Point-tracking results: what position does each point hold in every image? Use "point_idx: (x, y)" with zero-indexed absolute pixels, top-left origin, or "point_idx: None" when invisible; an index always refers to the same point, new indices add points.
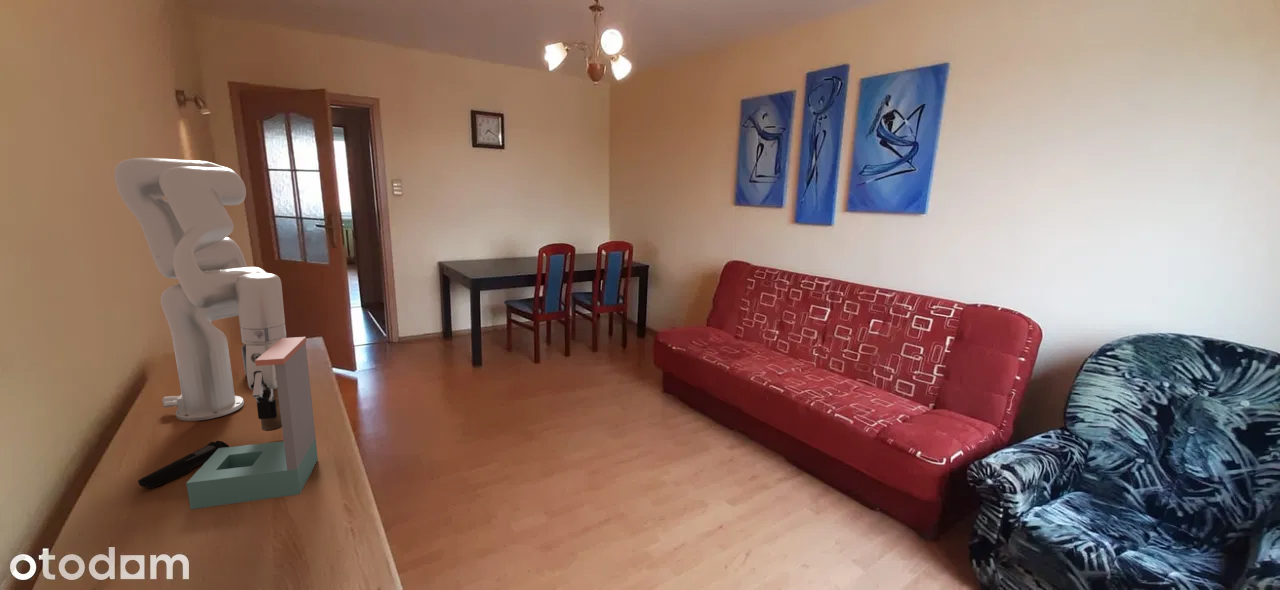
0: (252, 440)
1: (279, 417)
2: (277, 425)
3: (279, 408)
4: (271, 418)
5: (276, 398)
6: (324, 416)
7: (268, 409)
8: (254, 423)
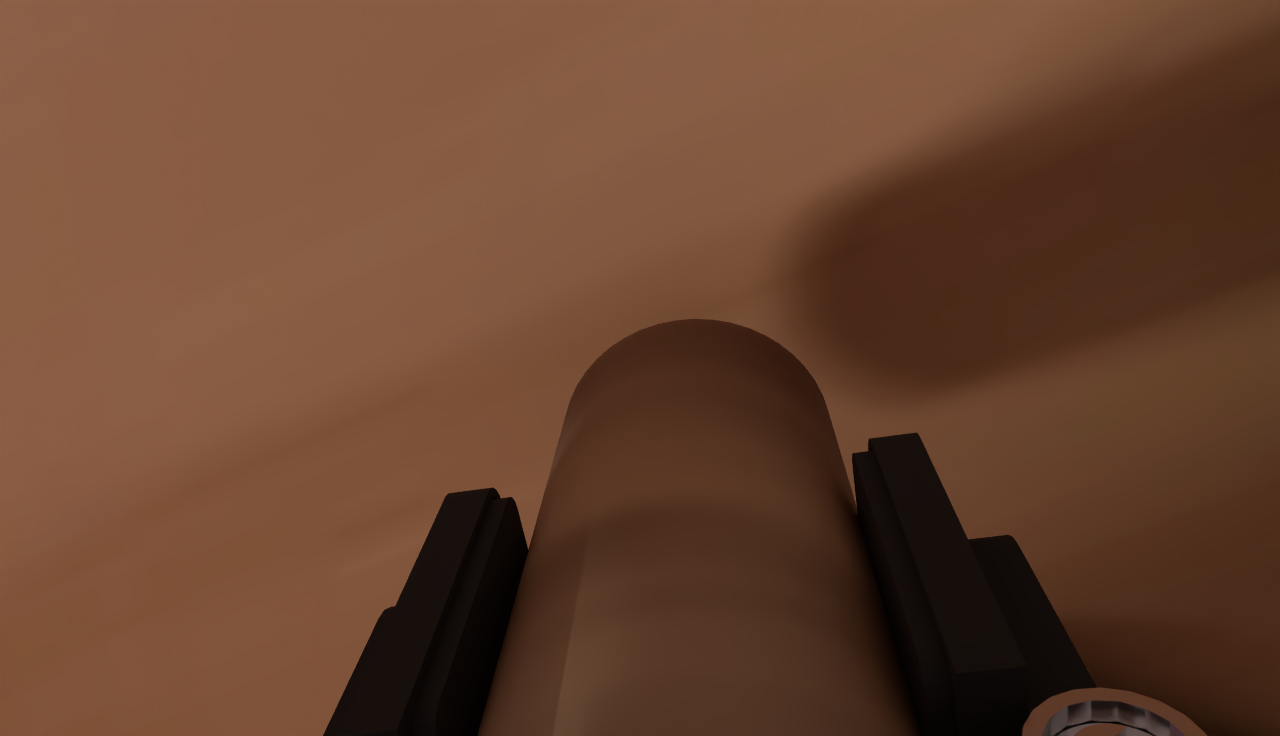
0: None
1: (769, 407)
2: (791, 376)
3: (759, 490)
4: (851, 498)
5: (837, 683)
6: (60, 13)
7: (1059, 627)
8: (338, 695)
